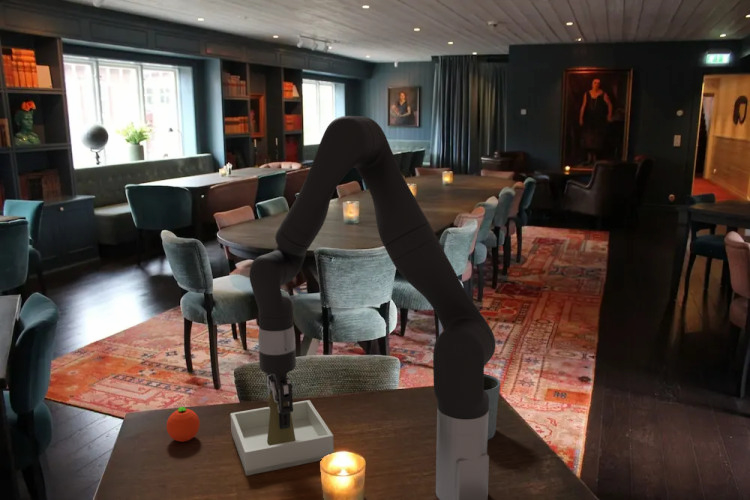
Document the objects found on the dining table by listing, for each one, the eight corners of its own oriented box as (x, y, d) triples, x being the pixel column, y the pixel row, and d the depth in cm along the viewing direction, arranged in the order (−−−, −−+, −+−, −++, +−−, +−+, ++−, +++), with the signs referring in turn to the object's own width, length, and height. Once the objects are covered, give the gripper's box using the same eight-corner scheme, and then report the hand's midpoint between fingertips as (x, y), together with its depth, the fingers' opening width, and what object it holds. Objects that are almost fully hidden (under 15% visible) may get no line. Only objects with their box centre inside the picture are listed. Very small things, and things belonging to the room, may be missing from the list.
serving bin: (333, 457, 130) (333, 435, 129) (246, 475, 123) (245, 452, 122) (309, 419, 146) (309, 400, 145) (231, 434, 140) (230, 413, 139)
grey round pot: (465, 445, 134) (466, 393, 132) (445, 424, 144) (446, 375, 141) (507, 438, 137) (509, 387, 135) (485, 417, 147) (486, 369, 144)
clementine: (165, 433, 140) (163, 403, 139) (197, 427, 143) (195, 398, 141) (169, 450, 133) (167, 419, 131) (202, 443, 136) (200, 413, 134)
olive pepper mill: (290, 449, 131) (288, 400, 129) (262, 446, 132) (260, 397, 130) (299, 435, 137) (297, 388, 135) (273, 432, 138) (271, 385, 136)
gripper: (303, 355, 125) (305, 431, 128) (286, 333, 138) (288, 402, 141) (266, 361, 122) (269, 437, 126) (252, 338, 135) (255, 408, 138)
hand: (279, 419), depth 133 cm, fingers open, 8 cm apart
